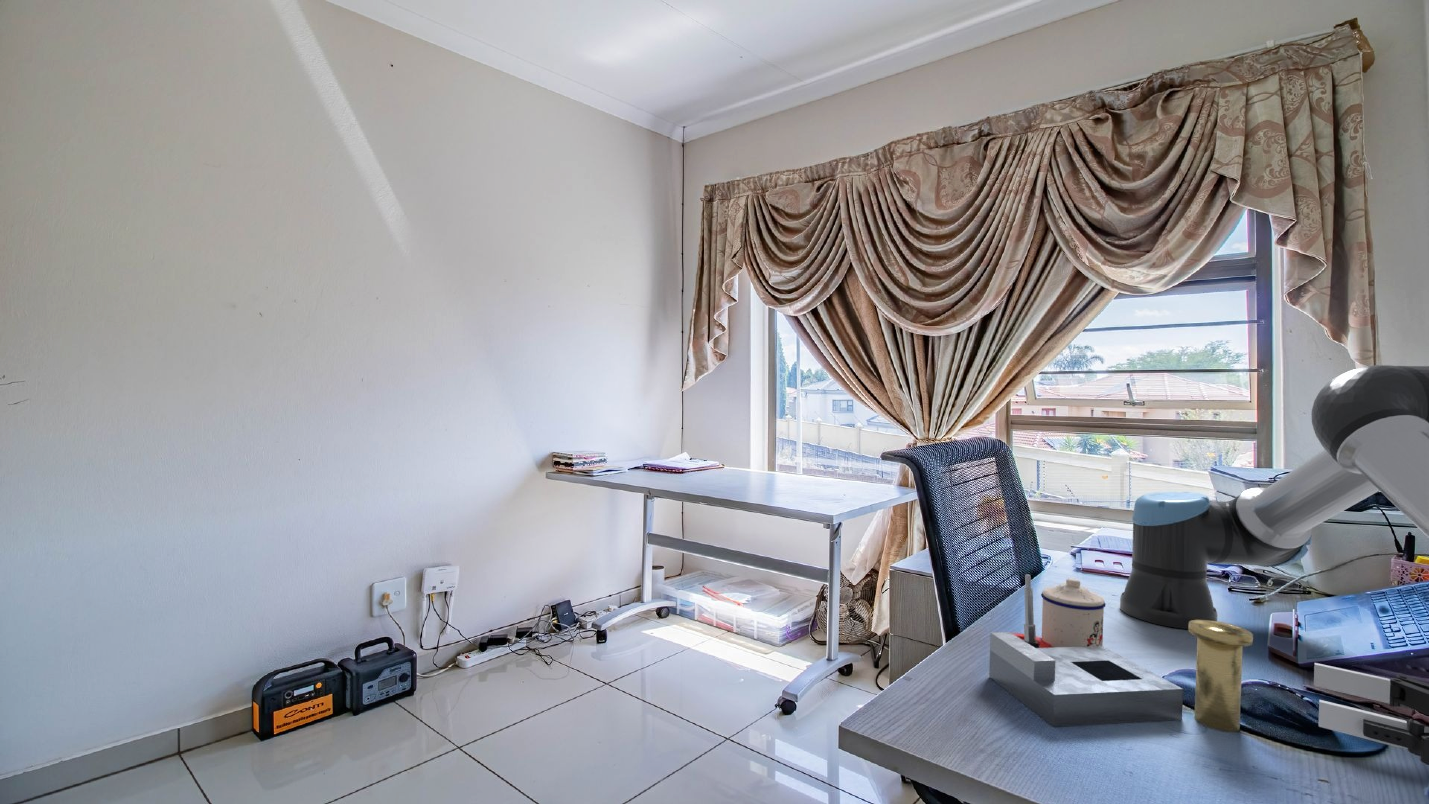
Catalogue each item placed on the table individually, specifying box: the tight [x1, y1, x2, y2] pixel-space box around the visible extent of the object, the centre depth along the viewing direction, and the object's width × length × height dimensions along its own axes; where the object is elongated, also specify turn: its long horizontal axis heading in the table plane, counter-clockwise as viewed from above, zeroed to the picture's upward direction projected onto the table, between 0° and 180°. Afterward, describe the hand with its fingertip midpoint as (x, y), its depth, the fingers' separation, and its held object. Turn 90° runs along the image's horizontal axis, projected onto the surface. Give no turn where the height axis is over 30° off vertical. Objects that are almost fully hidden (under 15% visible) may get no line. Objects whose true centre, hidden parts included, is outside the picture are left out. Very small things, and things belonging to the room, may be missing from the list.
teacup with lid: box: [1040, 577, 1106, 648], centre depth 105 cm, size 12×9×12 cm
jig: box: [988, 631, 1184, 728], centre depth 87 cm, size 18×14×6 cm
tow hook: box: [1011, 574, 1051, 648], centre depth 104 cm, size 8×13×9 cm
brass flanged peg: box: [1187, 620, 1254, 733], centre depth 81 cm, size 6×6×12 cm
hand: (1315, 692), depth 75 cm, fingers open, 13 cm apart
